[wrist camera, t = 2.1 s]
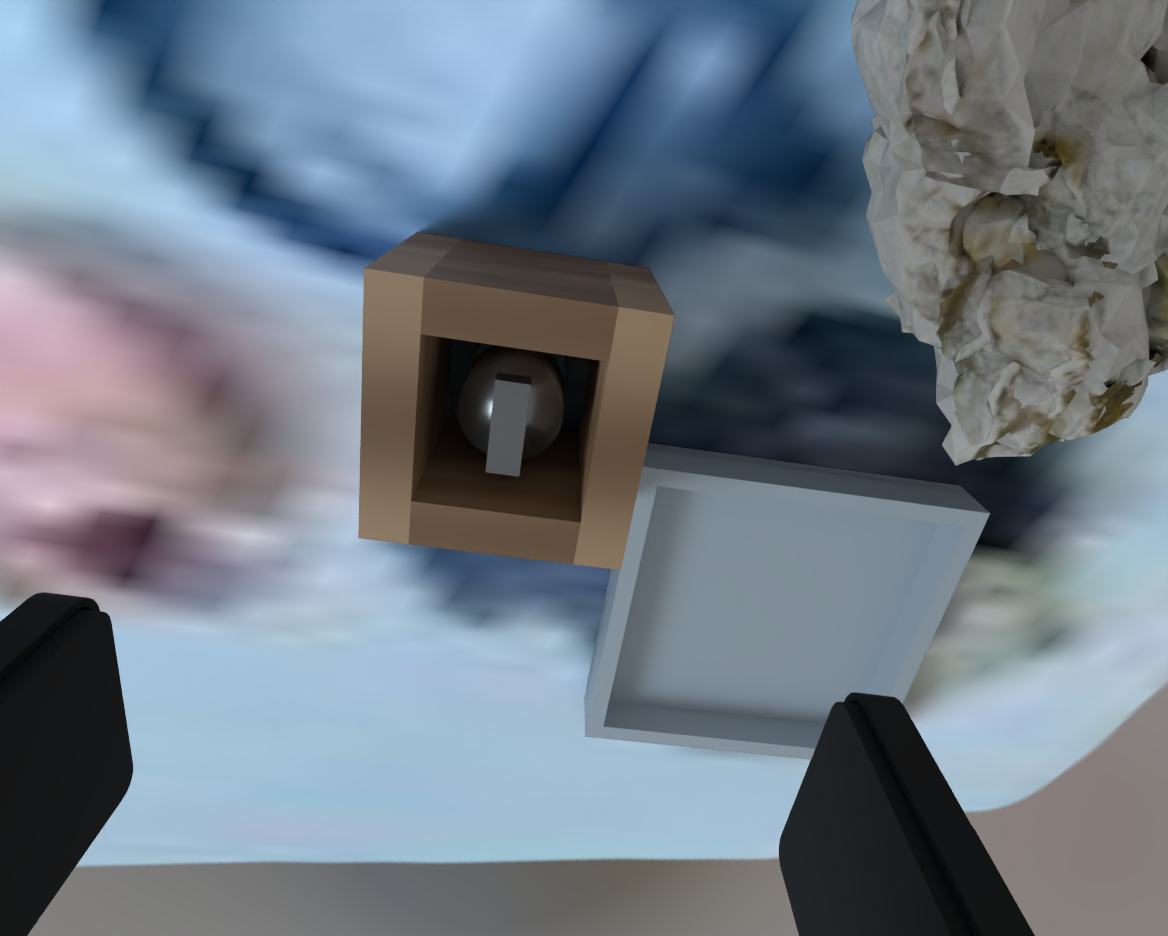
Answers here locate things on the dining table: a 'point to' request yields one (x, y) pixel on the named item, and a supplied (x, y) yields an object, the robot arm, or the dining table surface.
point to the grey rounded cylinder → (512, 404)
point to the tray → (769, 599)
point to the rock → (1022, 206)
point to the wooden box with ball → (436, 441)
